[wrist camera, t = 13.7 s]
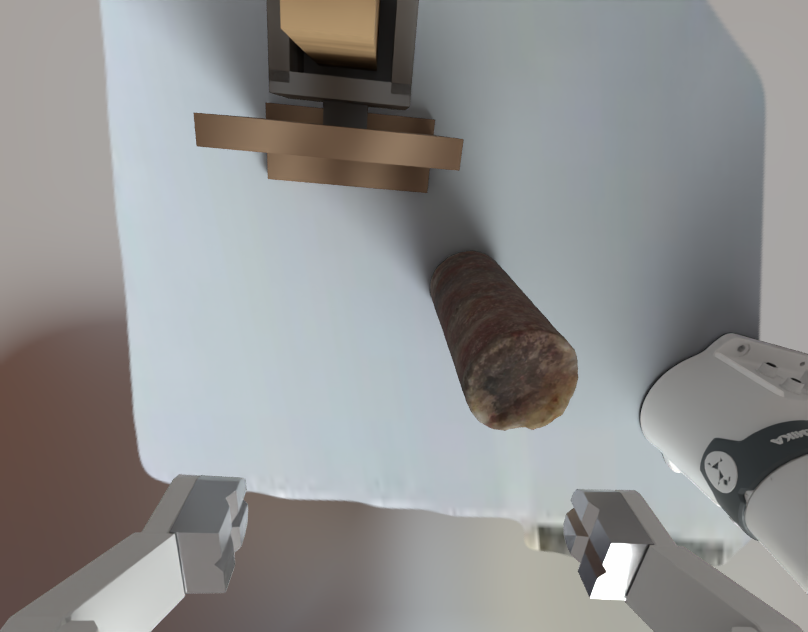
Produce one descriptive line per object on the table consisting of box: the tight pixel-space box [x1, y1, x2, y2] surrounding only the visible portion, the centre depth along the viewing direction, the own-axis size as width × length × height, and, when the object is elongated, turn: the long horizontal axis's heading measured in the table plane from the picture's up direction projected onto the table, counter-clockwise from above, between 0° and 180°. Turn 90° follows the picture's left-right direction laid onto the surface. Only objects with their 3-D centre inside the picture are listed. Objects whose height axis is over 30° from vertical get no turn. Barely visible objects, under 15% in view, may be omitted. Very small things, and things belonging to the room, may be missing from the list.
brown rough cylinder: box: [430, 251, 578, 431], centre depth 34 cm, size 8×7×20 cm
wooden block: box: [280, 0, 380, 71], centre depth 24 cm, size 4×4×12 cm
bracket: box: [194, 0, 464, 193], centre depth 29 cm, size 14×15×16 cm
